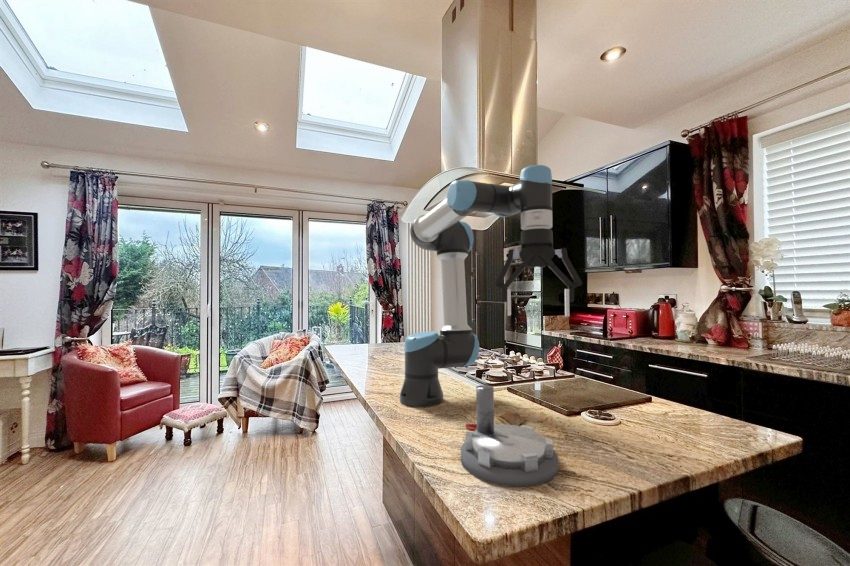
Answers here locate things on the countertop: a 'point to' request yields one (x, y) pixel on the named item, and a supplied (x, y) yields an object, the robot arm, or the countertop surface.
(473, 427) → the cayenne pepper
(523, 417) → the shard
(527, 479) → the base plate
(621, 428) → the countertop surface
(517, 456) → the tabbed dome lid
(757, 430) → the countertop surface
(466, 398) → the countertop surface
